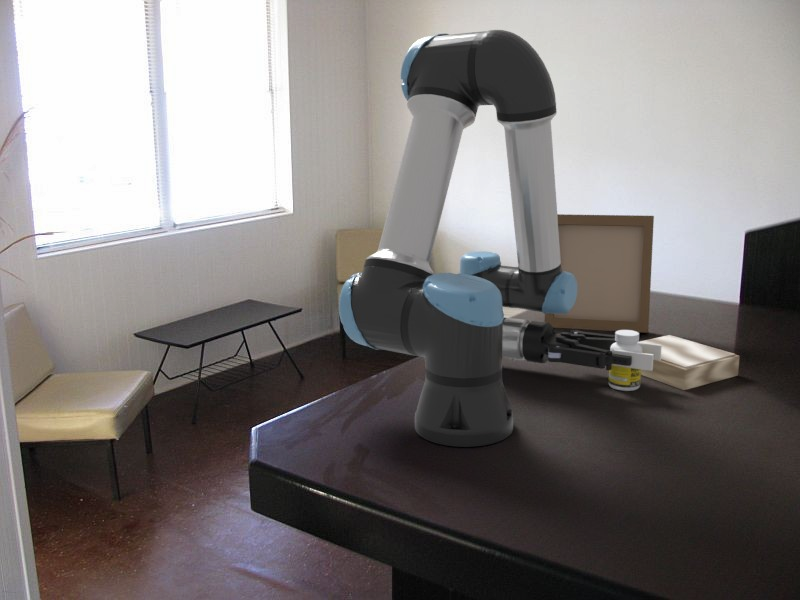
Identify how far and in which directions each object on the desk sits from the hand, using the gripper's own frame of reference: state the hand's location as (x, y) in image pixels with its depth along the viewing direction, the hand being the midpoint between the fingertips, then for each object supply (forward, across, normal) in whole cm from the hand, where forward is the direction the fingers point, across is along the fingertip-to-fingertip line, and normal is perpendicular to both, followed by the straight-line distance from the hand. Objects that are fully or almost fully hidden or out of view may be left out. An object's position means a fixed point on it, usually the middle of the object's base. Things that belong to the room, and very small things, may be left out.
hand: (656, 357), depth 135 cm
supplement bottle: (-5, 0, -6) cm, 8 cm away
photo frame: (-21, -37, -6) cm, 43 cm away
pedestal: (+1, -13, -6) cm, 14 cm away
